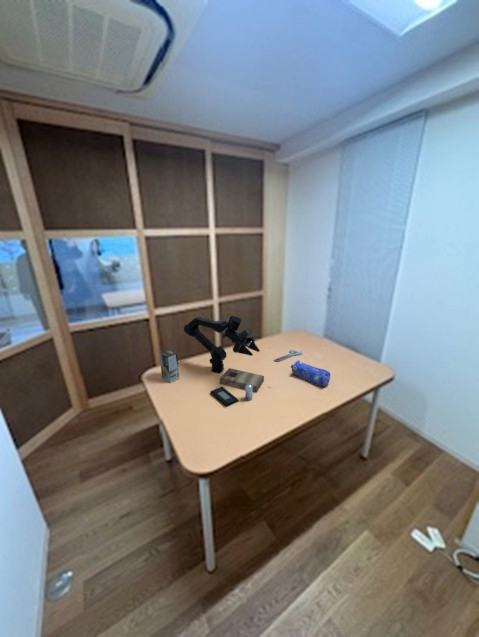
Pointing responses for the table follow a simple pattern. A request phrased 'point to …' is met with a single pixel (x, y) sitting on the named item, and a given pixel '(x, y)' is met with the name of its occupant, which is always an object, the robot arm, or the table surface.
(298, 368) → the pencil case
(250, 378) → the hitch block
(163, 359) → the coffee box
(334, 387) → the table surface
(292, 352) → the adjustable wrench
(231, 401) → the vhs tape
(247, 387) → the steel peg
